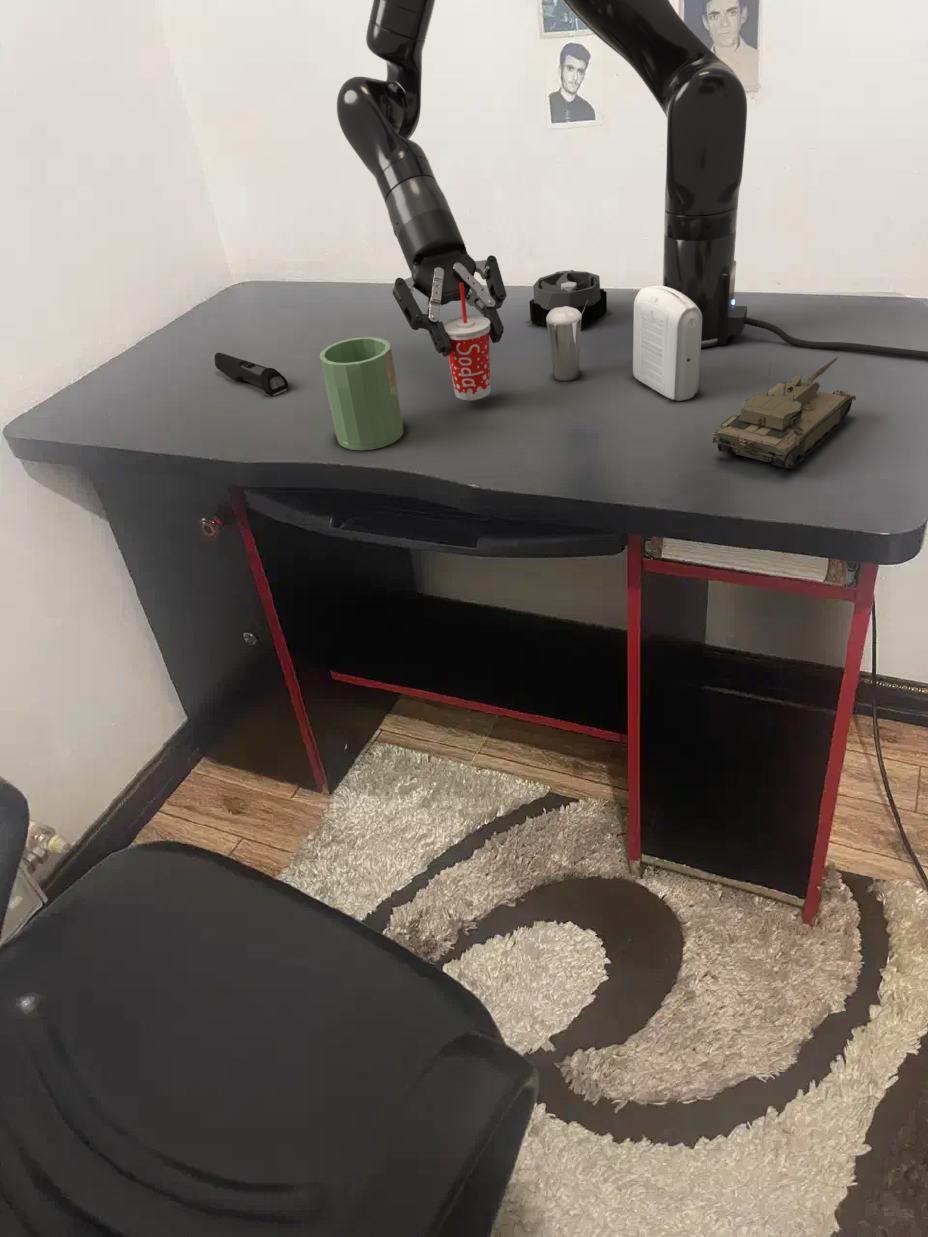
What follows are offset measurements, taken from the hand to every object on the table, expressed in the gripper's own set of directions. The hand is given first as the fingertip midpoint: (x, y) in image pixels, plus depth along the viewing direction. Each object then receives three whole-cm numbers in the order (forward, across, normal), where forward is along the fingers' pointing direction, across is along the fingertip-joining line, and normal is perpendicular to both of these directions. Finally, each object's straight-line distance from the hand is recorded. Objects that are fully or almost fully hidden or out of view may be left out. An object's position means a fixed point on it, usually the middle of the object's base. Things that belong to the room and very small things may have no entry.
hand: (473, 346), depth 113 cm
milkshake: (+5, +14, +7) cm, 16 cm away
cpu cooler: (-8, +25, +21) cm, 33 cm away
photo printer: (+12, +22, -1) cm, 25 cm away
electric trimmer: (-14, -23, +27) cm, 38 cm away
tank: (+26, +25, -14) cm, 39 cm away
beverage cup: (+4, 0, +6) cm, 7 cm away
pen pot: (+5, -14, +7) cm, 17 cm away
